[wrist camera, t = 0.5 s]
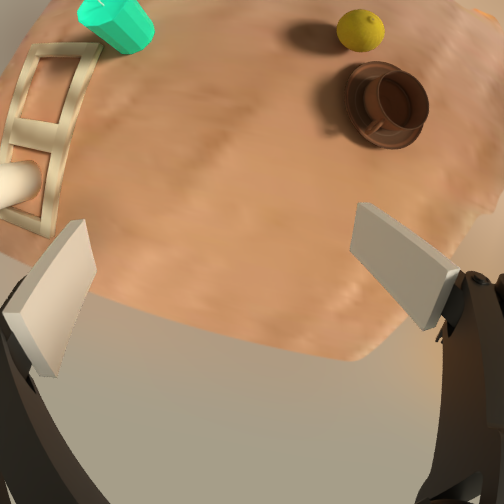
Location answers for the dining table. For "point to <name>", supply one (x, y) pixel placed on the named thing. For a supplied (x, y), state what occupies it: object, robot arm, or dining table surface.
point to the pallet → (47, 129)
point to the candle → (118, 23)
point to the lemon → (360, 30)
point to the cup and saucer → (386, 104)
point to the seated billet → (19, 182)
